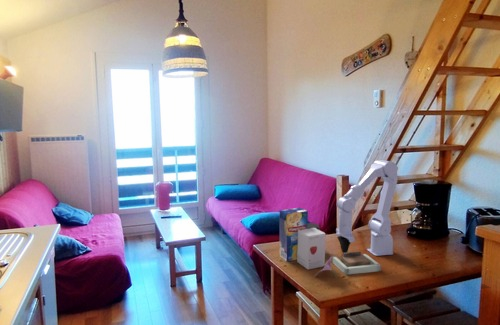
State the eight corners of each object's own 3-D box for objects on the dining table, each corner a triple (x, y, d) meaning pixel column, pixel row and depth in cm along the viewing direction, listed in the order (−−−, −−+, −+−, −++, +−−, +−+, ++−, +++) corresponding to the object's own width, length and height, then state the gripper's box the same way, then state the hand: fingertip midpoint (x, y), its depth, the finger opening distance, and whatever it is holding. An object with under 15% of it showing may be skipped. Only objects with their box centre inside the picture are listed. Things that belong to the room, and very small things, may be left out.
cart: (362, 262, 163) (363, 251, 162) (370, 269, 156) (371, 257, 155) (339, 265, 160) (339, 253, 160) (346, 271, 154) (346, 259, 153)
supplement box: (307, 270, 155) (308, 236, 153) (296, 262, 163) (297, 229, 161) (325, 266, 159) (326, 233, 157) (313, 258, 167) (314, 227, 165)
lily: (333, 270, 157) (322, 250, 157) (352, 269, 147) (340, 248, 147) (315, 286, 150) (304, 266, 151) (333, 287, 140) (321, 265, 141)
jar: (309, 254, 172) (309, 229, 171) (297, 248, 179) (298, 225, 177) (323, 249, 177) (323, 226, 176) (311, 244, 184) (311, 221, 182)
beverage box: (307, 257, 169) (308, 211, 165) (286, 261, 164) (287, 214, 161) (299, 252, 175) (299, 207, 172) (279, 256, 170) (279, 210, 167)
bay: (365, 259, 166) (365, 254, 165) (380, 270, 154) (380, 265, 153) (332, 262, 163) (332, 257, 162) (345, 274, 150) (345, 268, 150)
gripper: (330, 219, 173) (330, 247, 175) (344, 229, 159) (343, 259, 161) (344, 218, 174) (343, 245, 176) (359, 228, 160) (358, 257, 162)
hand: (344, 252), depth 169 cm, fingers closed
